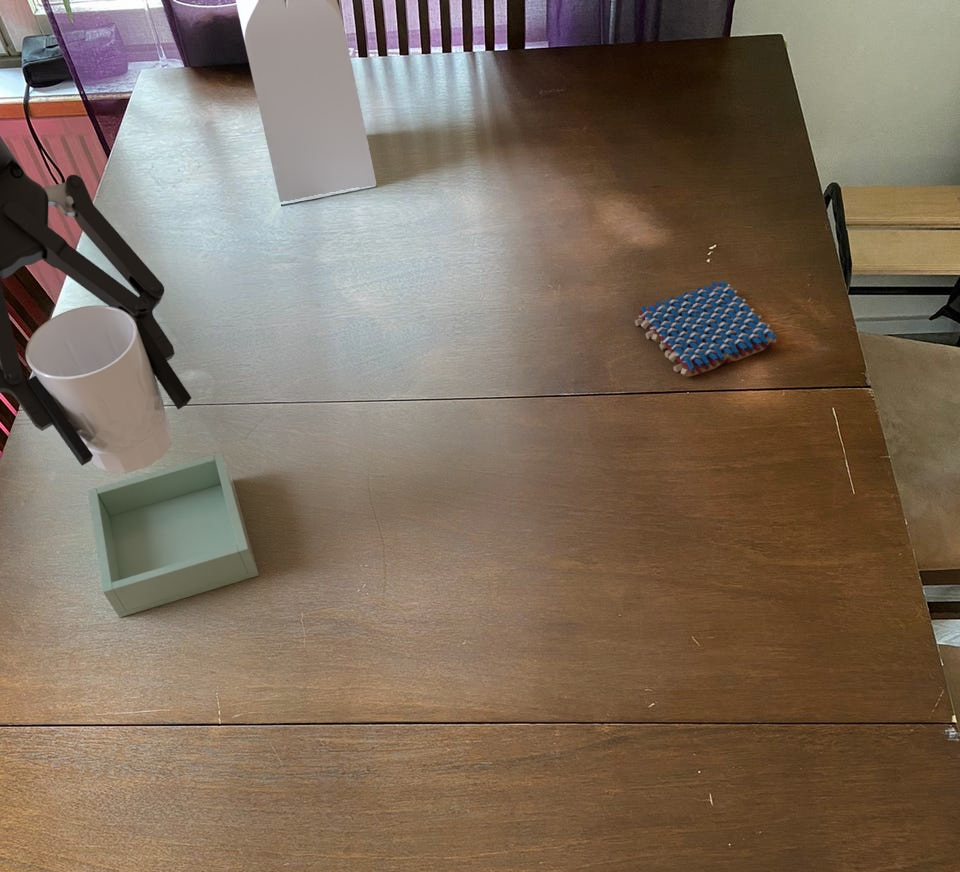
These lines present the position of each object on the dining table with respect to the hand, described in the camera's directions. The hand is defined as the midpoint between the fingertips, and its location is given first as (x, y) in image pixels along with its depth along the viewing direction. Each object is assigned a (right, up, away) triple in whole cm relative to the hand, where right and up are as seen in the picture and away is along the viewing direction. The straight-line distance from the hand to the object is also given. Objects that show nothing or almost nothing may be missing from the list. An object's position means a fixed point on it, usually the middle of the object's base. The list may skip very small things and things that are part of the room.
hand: (136, 431), depth 74 cm
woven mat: (+48, +14, +25) cm, 56 cm away
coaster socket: (-1, -7, +14) cm, 16 cm away
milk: (+6, +41, +47) cm, 63 cm away
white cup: (-2, 0, +5) cm, 5 cm away
